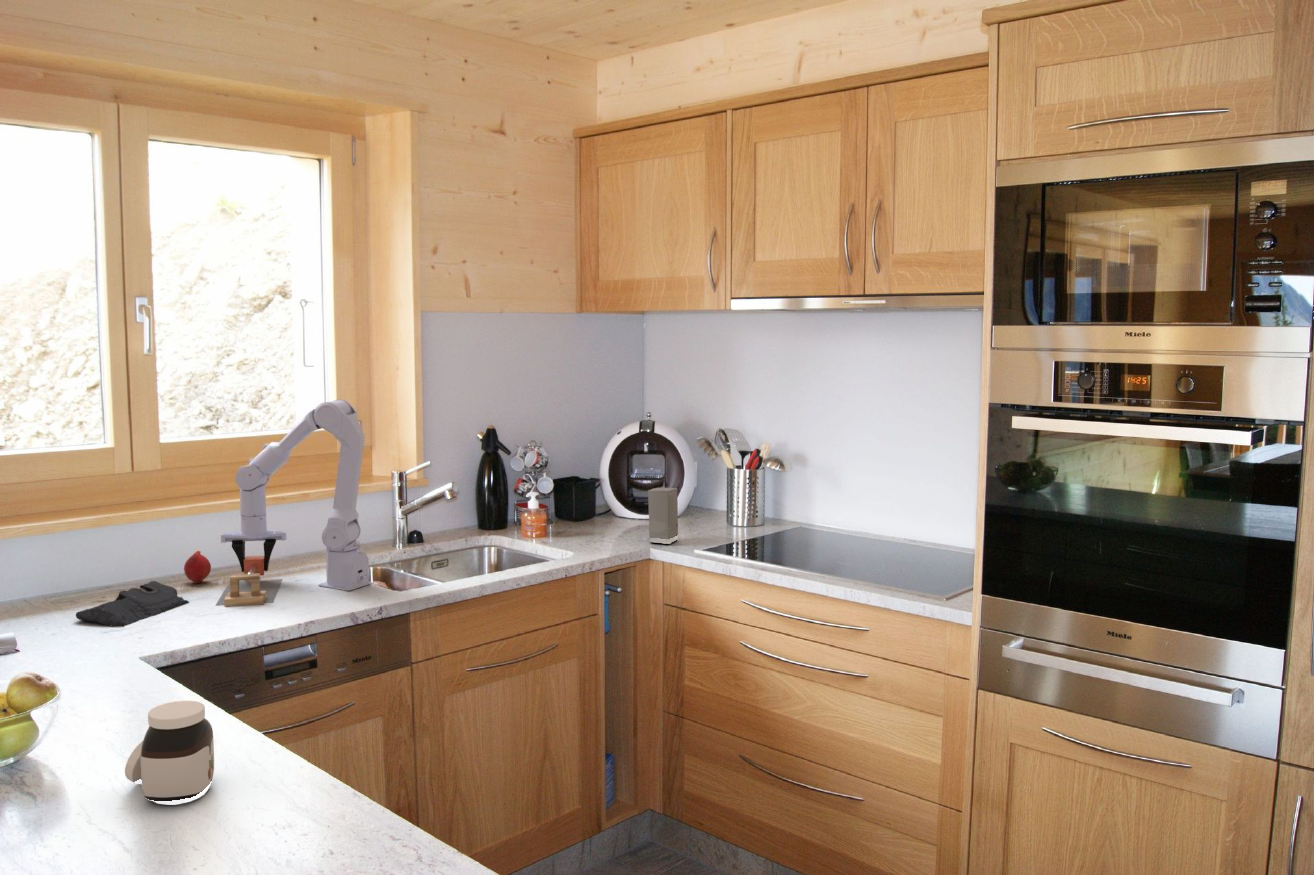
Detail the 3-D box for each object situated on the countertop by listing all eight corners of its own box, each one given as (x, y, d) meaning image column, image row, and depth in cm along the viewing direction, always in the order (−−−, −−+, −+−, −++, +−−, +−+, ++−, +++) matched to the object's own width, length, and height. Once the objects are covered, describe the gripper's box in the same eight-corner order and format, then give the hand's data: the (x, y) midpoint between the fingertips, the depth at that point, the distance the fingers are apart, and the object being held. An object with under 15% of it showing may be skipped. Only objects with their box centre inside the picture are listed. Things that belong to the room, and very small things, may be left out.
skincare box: (669, 546, 297) (670, 491, 296) (646, 543, 300) (646, 489, 298) (679, 540, 305) (680, 487, 304) (656, 538, 308) (657, 485, 306)
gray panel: (273, 603, 232) (273, 602, 232) (215, 606, 229) (215, 605, 229) (282, 579, 253) (282, 578, 253) (229, 582, 250) (229, 581, 250)
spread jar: (195, 811, 134) (192, 723, 133) (104, 813, 133) (100, 725, 132) (226, 771, 146) (224, 690, 145) (143, 773, 145) (139, 692, 144)
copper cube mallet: (257, 588, 236) (257, 571, 235) (236, 589, 235) (236, 572, 234) (265, 571, 251) (265, 555, 251) (246, 572, 250) (245, 556, 250)
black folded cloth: (62, 625, 216) (61, 602, 215) (139, 598, 237) (138, 577, 236) (125, 631, 212) (124, 608, 211) (197, 603, 233) (196, 582, 233)
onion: (201, 587, 245) (199, 553, 244) (179, 585, 246) (178, 552, 245) (216, 581, 251) (215, 548, 250) (194, 579, 252) (193, 547, 251)
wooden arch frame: (263, 604, 230) (262, 577, 230) (224, 606, 228) (223, 579, 228) (266, 597, 236) (265, 571, 235) (228, 599, 234) (227, 573, 233)
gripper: (218, 518, 242) (219, 576, 244) (284, 516, 246) (285, 573, 247) (222, 513, 249) (224, 569, 250) (286, 511, 253) (288, 566, 254)
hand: (255, 570), depth 249 cm, fingers closed on copper cube mallet, 4 cm apart
